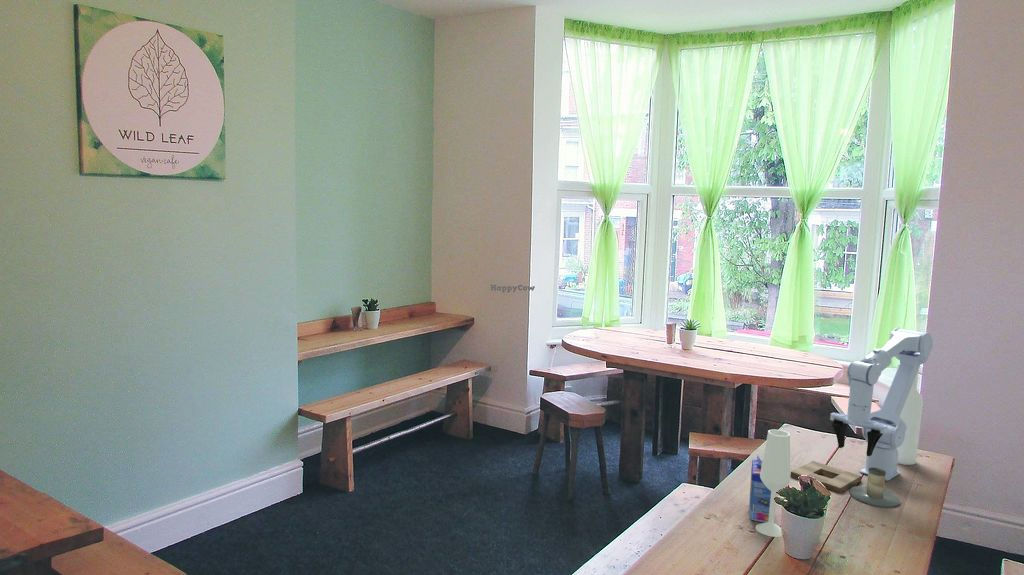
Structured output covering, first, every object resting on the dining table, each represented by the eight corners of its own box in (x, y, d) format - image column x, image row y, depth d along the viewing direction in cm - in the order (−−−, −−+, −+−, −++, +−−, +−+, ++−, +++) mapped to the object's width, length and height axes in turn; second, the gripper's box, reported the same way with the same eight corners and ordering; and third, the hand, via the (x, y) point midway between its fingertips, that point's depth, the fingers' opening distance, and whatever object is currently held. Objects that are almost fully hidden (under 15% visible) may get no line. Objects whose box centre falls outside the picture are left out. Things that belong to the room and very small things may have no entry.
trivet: (860, 484, 191) (860, 482, 190) (906, 499, 182) (907, 497, 182) (842, 495, 183) (842, 493, 183) (889, 511, 174) (889, 509, 174)
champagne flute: (783, 525, 164) (791, 429, 161) (787, 538, 157) (796, 439, 154) (753, 521, 165) (761, 426, 162) (757, 534, 159) (765, 435, 156)
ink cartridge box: (747, 503, 175) (752, 450, 173) (770, 507, 173) (775, 453, 172) (748, 520, 166) (752, 463, 164) (772, 524, 164) (777, 467, 162)
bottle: (886, 461, 209) (897, 367, 206) (886, 453, 216) (897, 362, 213) (916, 467, 206) (928, 371, 202) (915, 459, 212) (926, 366, 209)
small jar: (869, 490, 185) (871, 466, 184) (885, 495, 182) (888, 470, 181) (863, 494, 182) (866, 469, 181) (880, 499, 179) (882, 474, 178)
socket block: (812, 465, 204) (813, 460, 203) (861, 480, 193) (861, 475, 193) (790, 476, 194) (790, 471, 194) (839, 493, 184) (840, 487, 184)
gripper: (827, 400, 191) (822, 446, 193) (881, 413, 181) (876, 462, 182) (838, 396, 196) (833, 441, 198) (892, 408, 185) (886, 456, 187)
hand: (854, 451), depth 190 cm, fingers open, 7 cm apart
